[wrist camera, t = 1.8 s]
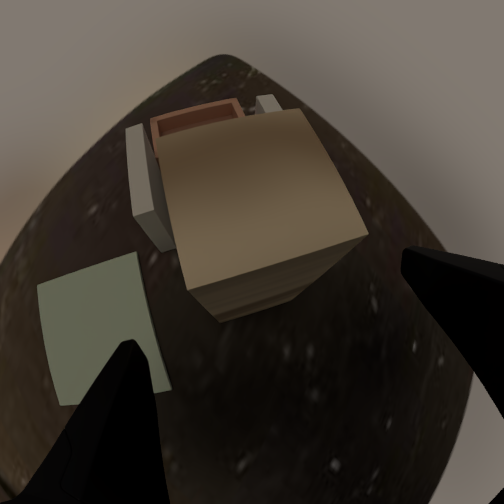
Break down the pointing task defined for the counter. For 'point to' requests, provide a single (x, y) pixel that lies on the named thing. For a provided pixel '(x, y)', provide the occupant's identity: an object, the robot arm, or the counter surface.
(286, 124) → the beech post
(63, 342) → the green mat
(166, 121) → the tray
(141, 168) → the channel
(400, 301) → the counter surface
